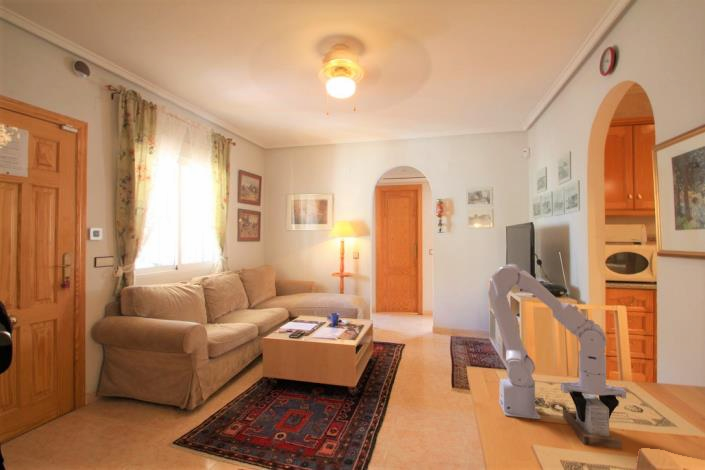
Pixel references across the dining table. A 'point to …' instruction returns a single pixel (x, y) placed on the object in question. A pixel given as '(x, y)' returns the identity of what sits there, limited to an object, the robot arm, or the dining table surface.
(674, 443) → the dining table surface
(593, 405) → the medicine box
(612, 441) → the walnut u-shaped bracket
